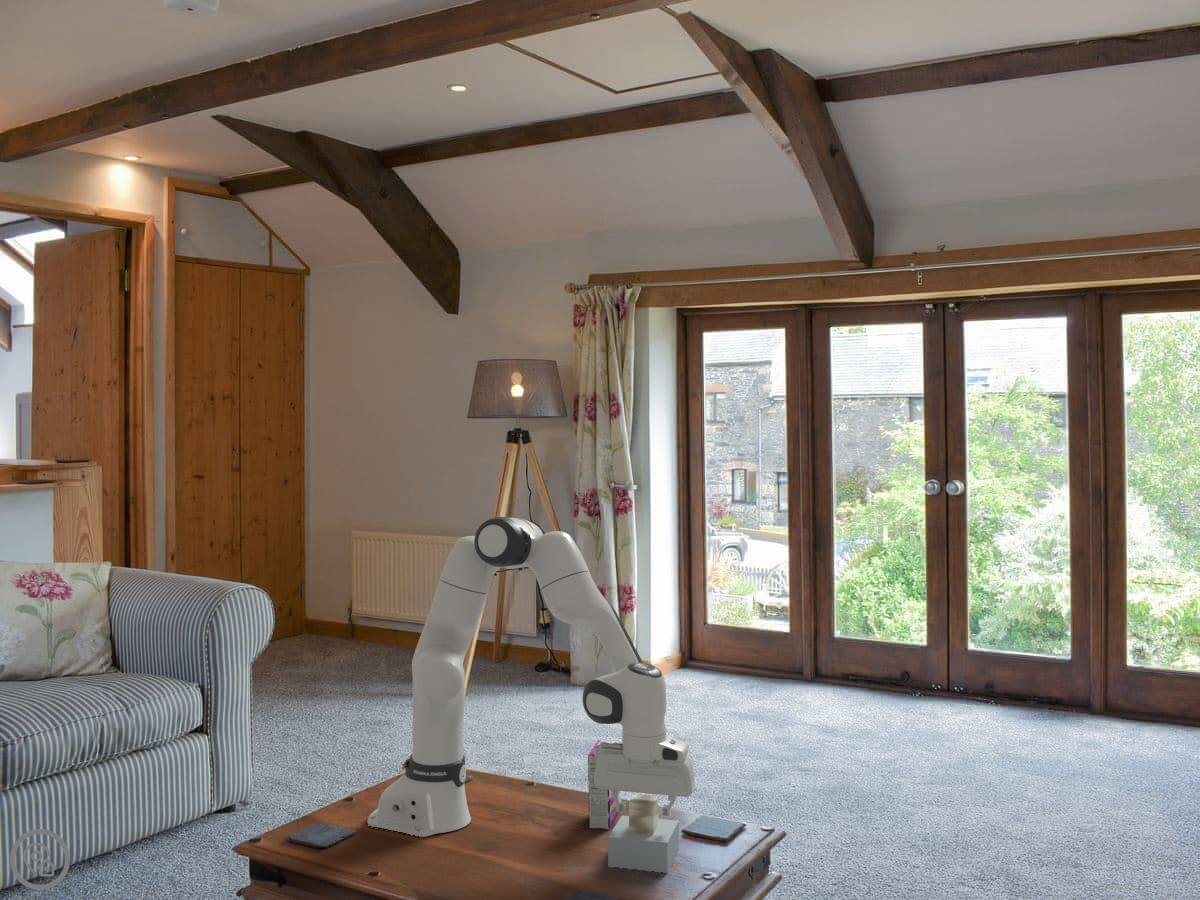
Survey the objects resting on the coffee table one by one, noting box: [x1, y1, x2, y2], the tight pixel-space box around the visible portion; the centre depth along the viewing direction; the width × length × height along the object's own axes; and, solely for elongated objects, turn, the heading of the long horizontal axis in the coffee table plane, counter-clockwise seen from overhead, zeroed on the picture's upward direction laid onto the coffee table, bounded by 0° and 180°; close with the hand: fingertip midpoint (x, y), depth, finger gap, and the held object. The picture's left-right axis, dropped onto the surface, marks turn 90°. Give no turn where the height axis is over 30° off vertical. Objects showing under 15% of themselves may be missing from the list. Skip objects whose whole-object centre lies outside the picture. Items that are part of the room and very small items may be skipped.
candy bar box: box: [587, 739, 619, 831], centre depth 240 cm, size 11×5×16 cm, turn 168°
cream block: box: [628, 793, 660, 834], centre depth 219 cm, size 5×5×6 cm
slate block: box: [607, 815, 680, 874], centre depth 219 cm, size 12×12×6 cm
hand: (643, 813), depth 219 cm, fingers open, 8 cm apart
